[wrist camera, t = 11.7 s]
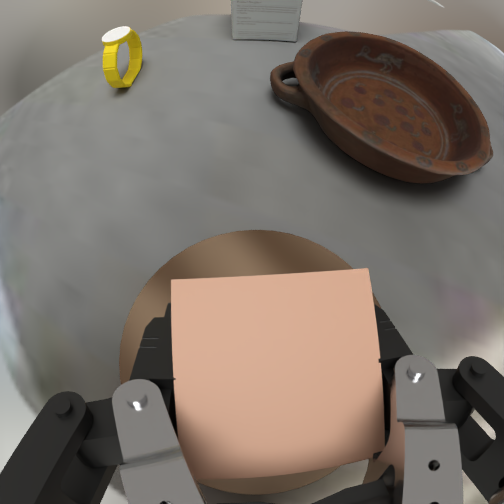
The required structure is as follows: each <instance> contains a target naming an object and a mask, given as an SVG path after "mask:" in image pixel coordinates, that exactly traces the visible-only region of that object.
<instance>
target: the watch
mask: <svg viewBox="0 0 504 504" xmlns="http://www.w3.org/2000/svg"><path fill="white" fill-rule="evenodd" d="M126 41H127V43H128V46H129V56H130V61H129V67H128V71H127V72H126V74H125V76H124V77H123V79H122V80H121V78H120V76H119V72H118V68H117V52H118V49H119V45H120V44H122V43H124V42H126ZM102 42H103V45H104V46H105V49H104V52H103V71H104V75H105V78H106V80H107V82H108V83H109V84H110V85H111V86H112V87H113V88H122V87H130V86H132V85H131V84H132V83H133V81H134V79H135V78H136V76H137V74H138V73H139V71H140V70H141V64H142V47H141V46H142V45H141V41H140V38H139V36H138V35H137V33H136V32H135V31H134V30H131V28H129V27H126V26H123V27H118V28H115V29H112V30H111V31H109V32H107V33H106V34H105V35H104V36H103V37H102Z"/></svg>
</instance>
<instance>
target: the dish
mask: <svg viewBox="0 0 504 504" xmlns="http://www.w3.org/2000/svg"><path fill="white" fill-rule="evenodd" d="M289 78H297V80H298V82H299V85H297V86H288V85H286V84H284V83H283V82H282V81H283V80H285V79H289ZM270 81H271V86H272V89H273V91H274V92H275V94H276V95H277V96H278V97H279V98H281V99H283V100H284V101H286V102H289V103H292V104H295V105H297V106H300V107H302V108H304V109H306V110H308V111H309V112H311V113H312V115H313V116H314V117H315V118H316V120H317V122H318V123H319V125H320V127H321V128H322V130H323V132H324V133H325V134H326V135H327V136H328V138H329V139H330V140H332V141H333V142H334V143H335V144H336V145H337V146H338V147H339V148H340V149H341V150H343V151H344V152H345V153H347V154H348V155H349V156H351V157H352V158H354V159H355V160H357V161H358V162H360V163H362V164H363V165H365V166H367V167H369V168H371V169H373V170H375V171H377V172H379V173H381V174H384V175H386V176H389V177H392V178H395V179H399V180H402V181H405V182H411V183H433V182H438V181H442V180H445V179H447V178H450V177H452V176H455V175H464V174H469V173H472V172H474V171H476V170H478V169H479V168H481V167H482V166H484V165H485V164H486V163H488V162H489V160H490V159H491V158H492V157H493V150H492V147H491V142H490V134H489V128H488V125H487V122H486V120H485V118H484V116H483V114H482V112H481V110H480V109H479V107H478V106H477V104H476V103H475V101H474V100H473V99H472V97H471V96H470V95H469V94H468V92H467V91H466V90H465V89H464V88H463V87H462V86H461V85H460V84H459V83H458V82H457V81H456V80H455V78H454V77H453V76H452V75H451V74H449V73H448V72H447V71H446V70H444V69H443V68H442V67H441V66H439V65H438V64H437V63H435V62H434V61H432V60H431V59H429V58H428V57H426V56H425V55H423V54H421V53H420V52H418V51H416V50H414V49H412V48H410V47H408V46H407V45H404V44H402V43H400V42H397V41H395V40H392V39H389V38H386V37H382V36H378V35H373V34H368V33H361V32H336V33H329V34H325V35H321V36H319V37H317V38H315V39H313V40H311V41H310V42H308V43H307V44H306V45H304V46H303V47H302V48H301V49H300V50H299V52H298V53H297V55H296V57H295V60H294V62H289V63H285V64H282V65H279V66H277V67H276V68H275V69H273V70H272V72H271V76H270Z"/></svg>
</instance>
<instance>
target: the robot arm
mask: <svg viewBox="0 0 504 504" xmlns="http://www.w3.org/2000/svg"><path fill="white" fill-rule="evenodd" d="M374 309H375V316H376V324H377V332H378V341H379V350H380V359H378V361H379V363H381V372H382V385H383V402H384V428H385V448H384V449H383V451H380V452H377V453H373V456H372V458H369V463H368V469H367V472H366V475H365V477H364V480H363V484H362V485H358V486H354V487H350V488H346V489H344V490H342V491H340V492H337V493H335V494H333V495H331V496H329V497H326V498H324V499H322V500H319V501H317V502H315V503H312V504H463V479H462V470H463V471H464V472H465V473H466V475H467V476H468V477H469V478H470V480H471V481H472V482H473V483H474V485H475V486H476V487H477V489H478V490H479V491H480V492H481V494H482V495H483V496H484V498H485V499H486V500H487V501H488V503H489V504H504V377H503V376H502V375H501V374H500V373H499V372H498V371H497V370H496V369H495V368H494V367H493V366H491V365H490V364H489V363H488V362H487V361H485V360H484V359H482V358H479V357H475V356H470V357H466V358H464V359H463V360H462V361H461V362H460V364H459V366H458V368H457V369H436V367H435V365H434V364H433V363H432V362H431V361H430V360H428V359H427V358H425V357H422V356H419V355H413V353H412V352H411V350H410V349H409V347H408V346H407V344H406V343H405V341H404V340H403V338H402V337H401V335H400V334H399V332H398V331H397V329H395V326H394V325H393V323H392V322H391V321H390V319H389V317H388V316H387V315H386V313H385V312H384V310H382V309H381V308H379V307H378V306H377V305H375V304H374ZM174 380H176V378H174V377H173V357H172V326H171V303H168V304H167V308H166V311H165V315H164V317H154V318H153V319H152V320H151V321H150V322H149V324H148V325H147V326H146V327H145V330H144V333H143V336H142V339H141V343H140V348H139V349H138V352H137V356H136V359H135V362H134V365H133V369H132V372H131V376H130V379H129V381H128V382H125V383H123V384H122V385H120V386H119V387H118V388H117V389H116V391H115V392H114V394H113V397H111V398H108V399H104V400H99V401H93V402H87V403H85V401H84V399H83V398H82V397H81V396H80V395H79V394H77V393H75V392H69V391H68V392H61V393H58V394H56V395H54V396H53V397H51V398H50V399H49V400H48V402H47V403H46V404H45V406H44V407H43V409H42V410H41V412H40V413H39V415H38V416H37V417H36V419H35V420H34V422H33V424H32V425H31V426H30V428H29V429H28V431H27V432H26V434H25V435H24V437H23V438H22V440H21V442H20V443H19V445H18V446H17V448H16V449H15V451H14V452H13V454H12V456H11V457H10V459H9V460H8V462H7V464H6V465H5V467H4V469H3V470H2V472H1V474H0V504H100V502H101V500H102V498H103V496H104V493H105V491H106V489H107V487H108V485H109V482H110V480H111V478H112V476H113V474H114V472H115V469H116V467H117V465H118V464H120V474H121V478H122V482H123V486H124V489H125V493H126V497H127V500H128V503H129V504H208V503H207V501H206V499H205V497H204V495H203V493H202V491H201V489H200V487H199V485H198V482H197V480H196V479H195V476H194V475H193V474H192V472H191V470H190V468H189V465H188V463H187V461H186V458H185V456H184V454H183V451H182V449H181V446H180V444H179V440H178V430H177V419H176V407H175V393H174ZM474 410H476V411H477V412H478V413H479V414H480V415H481V416H482V417H483V418H484V419H485V420H486V422H487V423H488V424H489V425H490V426H491V427H492V428H493V429H494V431H495V433H496V439H495V440H493V439H491V438H490V437H489V436H488V435H487V434H486V432H485V431H484V430H483V429H482V428H481V427H480V426H479V425H478V424H477V422H476V421H475V420H474V419H473V418H472V417H471V416H470V415H471V414H472V413H473V411H474ZM219 504H273V503H264V502H250V503H219Z"/></svg>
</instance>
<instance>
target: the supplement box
mask: <svg viewBox="0 0 504 504" xmlns="http://www.w3.org/2000/svg"><path fill="white" fill-rule="evenodd" d="M301 6H302V0H231V17H232V37H233V39H234V40H235V39H257V40H280V41H294V42H296V40H297V34H298V27H299V20H300V14H301Z"/></svg>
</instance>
